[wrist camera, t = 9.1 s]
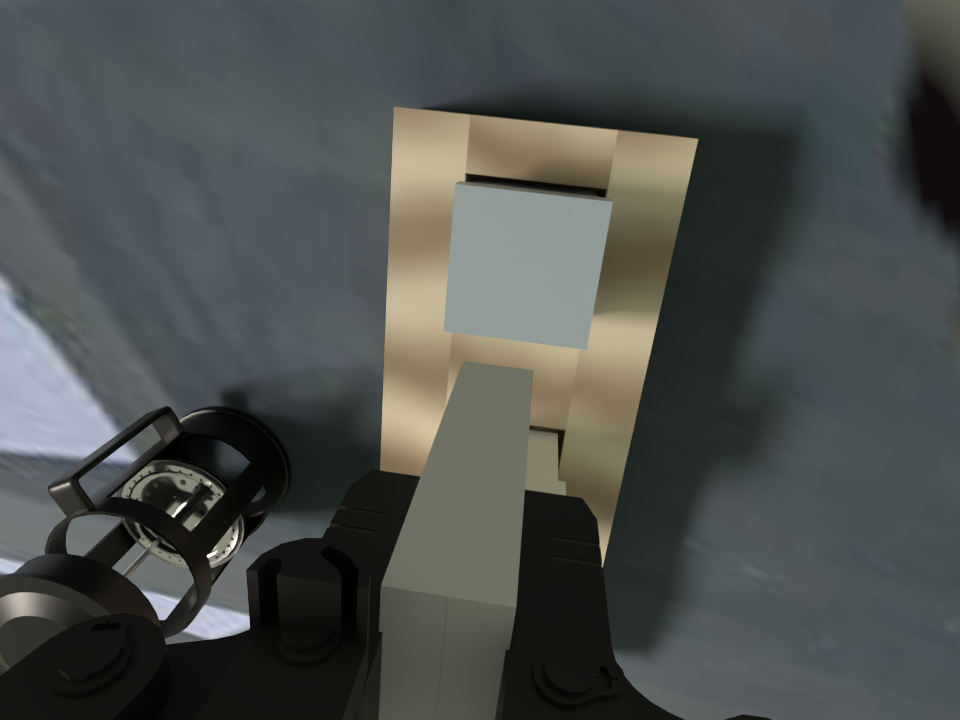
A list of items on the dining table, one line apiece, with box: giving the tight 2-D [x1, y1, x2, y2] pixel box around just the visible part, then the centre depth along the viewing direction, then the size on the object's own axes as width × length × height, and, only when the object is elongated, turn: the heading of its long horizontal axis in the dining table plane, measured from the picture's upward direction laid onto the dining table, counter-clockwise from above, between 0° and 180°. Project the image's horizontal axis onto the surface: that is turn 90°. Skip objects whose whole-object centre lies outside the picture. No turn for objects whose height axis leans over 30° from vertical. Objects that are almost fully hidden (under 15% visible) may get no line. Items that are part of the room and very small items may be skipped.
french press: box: [0, 406, 291, 676], centre depth 33 cm, size 12×9×23 cm
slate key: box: [444, 178, 613, 350], centre depth 29 cm, size 7×7×6 cm
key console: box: [380, 107, 698, 567], centre depth 38 cm, size 38×14×6 cm, turn 174°
